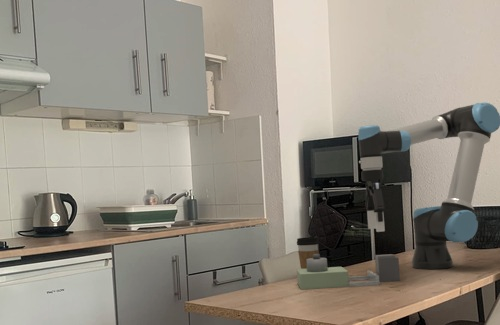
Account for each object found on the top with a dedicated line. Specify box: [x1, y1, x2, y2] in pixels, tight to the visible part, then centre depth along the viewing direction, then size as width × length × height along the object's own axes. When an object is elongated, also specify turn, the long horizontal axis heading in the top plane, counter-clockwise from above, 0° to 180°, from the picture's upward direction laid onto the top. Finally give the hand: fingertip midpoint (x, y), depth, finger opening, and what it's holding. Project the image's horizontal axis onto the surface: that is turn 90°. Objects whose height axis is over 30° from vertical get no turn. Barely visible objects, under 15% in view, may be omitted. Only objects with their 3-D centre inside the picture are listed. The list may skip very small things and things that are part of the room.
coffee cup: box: [296, 236, 320, 269], centre depth 212 cm, size 8×8×15 cm
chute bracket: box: [348, 270, 381, 288], centre depth 193 cm, size 10×13×3 cm
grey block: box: [374, 253, 401, 283], centre depth 195 cm, size 7×4×9 cm, turn 91°
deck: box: [296, 253, 350, 291], centre depth 193 cm, size 16×12×11 cm
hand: (376, 230), depth 196 cm, fingers open, 13 cm apart
